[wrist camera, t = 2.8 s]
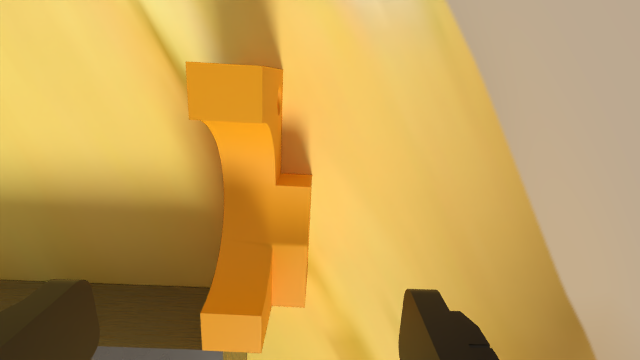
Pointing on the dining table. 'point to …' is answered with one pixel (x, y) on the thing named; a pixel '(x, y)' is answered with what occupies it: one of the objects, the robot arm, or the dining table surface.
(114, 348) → the steel riser
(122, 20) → the dining table surface
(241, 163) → the pipe clamp
